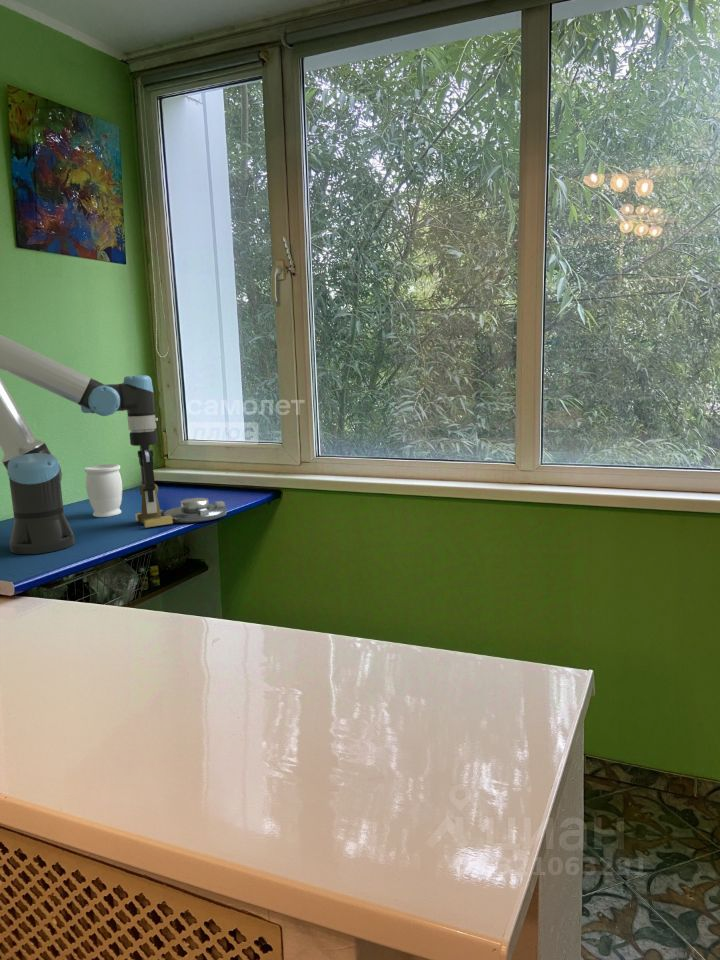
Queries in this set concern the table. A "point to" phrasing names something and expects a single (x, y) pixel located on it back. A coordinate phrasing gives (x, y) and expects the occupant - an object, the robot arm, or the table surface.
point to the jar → (104, 489)
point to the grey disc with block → (188, 512)
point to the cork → (144, 509)
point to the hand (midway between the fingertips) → (151, 510)
